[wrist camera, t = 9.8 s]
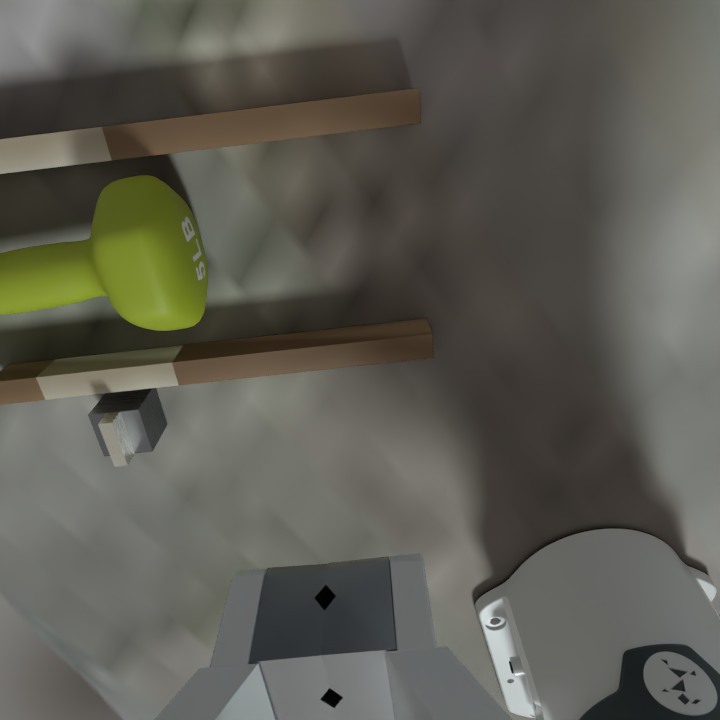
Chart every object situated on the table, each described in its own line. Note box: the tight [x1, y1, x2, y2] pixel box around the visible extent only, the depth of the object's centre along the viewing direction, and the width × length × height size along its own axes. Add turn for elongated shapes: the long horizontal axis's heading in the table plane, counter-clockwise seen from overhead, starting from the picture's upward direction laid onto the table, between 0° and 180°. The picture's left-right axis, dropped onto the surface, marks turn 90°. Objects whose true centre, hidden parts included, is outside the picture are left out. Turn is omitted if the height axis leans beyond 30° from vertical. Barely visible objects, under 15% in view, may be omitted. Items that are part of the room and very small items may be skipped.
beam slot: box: [0, 88, 434, 405], centre depth 29 cm, size 14×26×2 cm, turn 96°
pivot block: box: [88, 388, 167, 467], centre depth 33 cm, size 3×3×4 cm
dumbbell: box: [0, 175, 208, 331], centre depth 27 cm, size 16×8×7 cm, turn 99°
